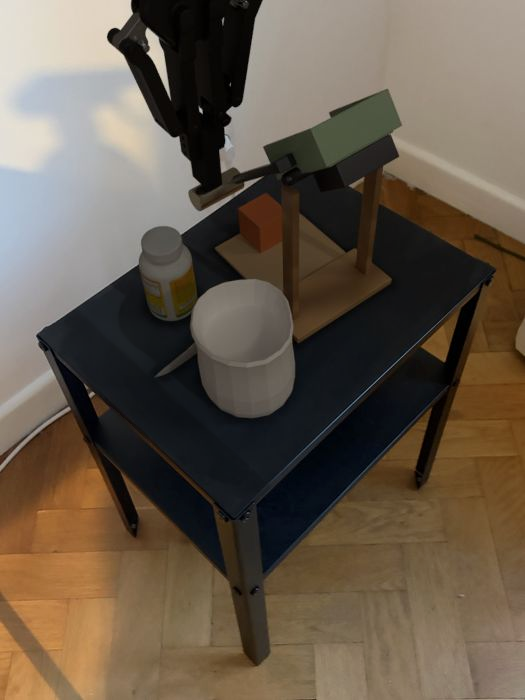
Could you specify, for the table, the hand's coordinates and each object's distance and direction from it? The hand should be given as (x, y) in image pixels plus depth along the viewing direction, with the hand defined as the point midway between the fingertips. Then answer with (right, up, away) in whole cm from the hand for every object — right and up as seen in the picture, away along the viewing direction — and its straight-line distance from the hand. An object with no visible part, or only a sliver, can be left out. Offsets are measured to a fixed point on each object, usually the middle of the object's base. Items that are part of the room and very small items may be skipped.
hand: (207, 180), depth 67 cm
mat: (+7, -5, +15) cm, 17 cm away
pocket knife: (0, -15, +8) cm, 17 cm away
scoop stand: (+12, -10, +11) cm, 19 cm away
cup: (+4, -19, +5) cm, 20 cm away
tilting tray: (+9, -1, -2) cm, 10 cm away
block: (+4, 0, +15) cm, 16 cm away
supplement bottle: (-4, -11, +11) cm, 16 cm away
